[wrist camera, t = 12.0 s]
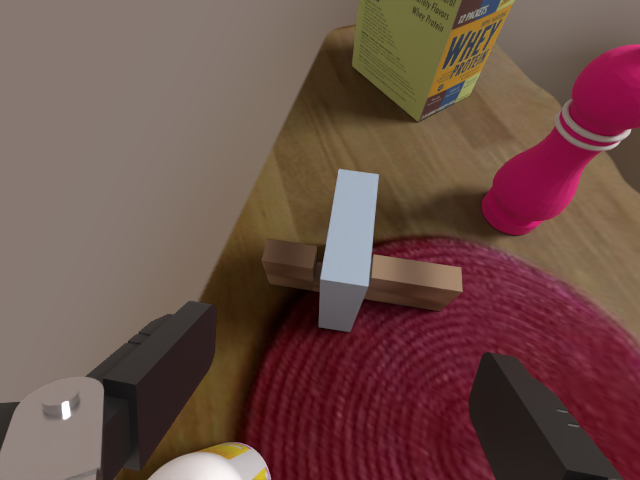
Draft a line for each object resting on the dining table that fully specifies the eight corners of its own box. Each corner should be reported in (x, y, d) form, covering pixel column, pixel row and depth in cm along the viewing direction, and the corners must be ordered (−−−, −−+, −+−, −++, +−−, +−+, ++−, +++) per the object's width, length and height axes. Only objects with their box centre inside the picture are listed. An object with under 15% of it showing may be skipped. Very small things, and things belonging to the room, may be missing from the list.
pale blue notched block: (331, 244, 35) (339, 169, 24) (359, 248, 35) (378, 174, 24) (318, 327, 31) (320, 279, 20) (350, 332, 30) (368, 286, 20)
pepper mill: (526, 251, 35) (739, 82, 17) (465, 215, 37) (600, 32, 19) (551, 209, 38) (756, 25, 20) (492, 177, 40) (633, -13, 22)
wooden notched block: (439, 290, 33) (461, 267, 28) (439, 311, 31) (462, 291, 27) (274, 264, 34) (267, 238, 29) (269, 283, 33) (261, 260, 28)
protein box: (418, 124, 44) (465, -7, 31) (350, 66, 50) (363, -65, 37) (471, 96, 47) (535, -35, 34) (400, 44, 53) (430, -84, 40)
